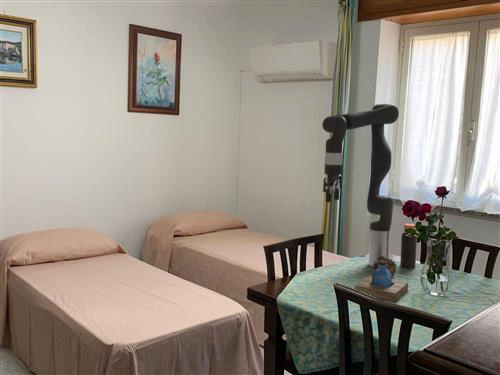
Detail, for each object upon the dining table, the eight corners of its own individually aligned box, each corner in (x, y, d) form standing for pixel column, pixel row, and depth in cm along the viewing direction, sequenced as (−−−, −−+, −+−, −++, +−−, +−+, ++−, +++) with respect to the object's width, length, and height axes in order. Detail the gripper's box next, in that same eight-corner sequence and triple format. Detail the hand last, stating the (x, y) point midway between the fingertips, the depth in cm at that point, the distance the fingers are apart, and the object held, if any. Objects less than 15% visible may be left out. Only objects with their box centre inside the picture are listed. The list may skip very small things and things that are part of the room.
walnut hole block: (369, 283, 207) (369, 275, 207) (407, 290, 199) (408, 282, 198) (354, 294, 194) (355, 285, 194) (395, 302, 185) (395, 293, 185)
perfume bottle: (371, 291, 195) (372, 262, 194) (375, 287, 200) (377, 258, 199) (387, 294, 192) (388, 264, 191) (391, 290, 197) (392, 260, 196)
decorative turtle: (388, 270, 226) (389, 253, 225) (402, 281, 211) (403, 262, 210) (368, 271, 225) (368, 254, 224) (380, 281, 210) (381, 263, 209)
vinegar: (397, 266, 233) (399, 224, 231) (405, 263, 238) (407, 222, 235) (410, 269, 228) (412, 226, 226) (418, 266, 233) (420, 224, 230)
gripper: (334, 164, 204) (333, 203, 206) (348, 162, 216) (347, 199, 218) (318, 163, 208) (317, 202, 210) (332, 162, 220) (331, 198, 222)
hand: (332, 200), depth 214 cm, fingers open, 8 cm apart
